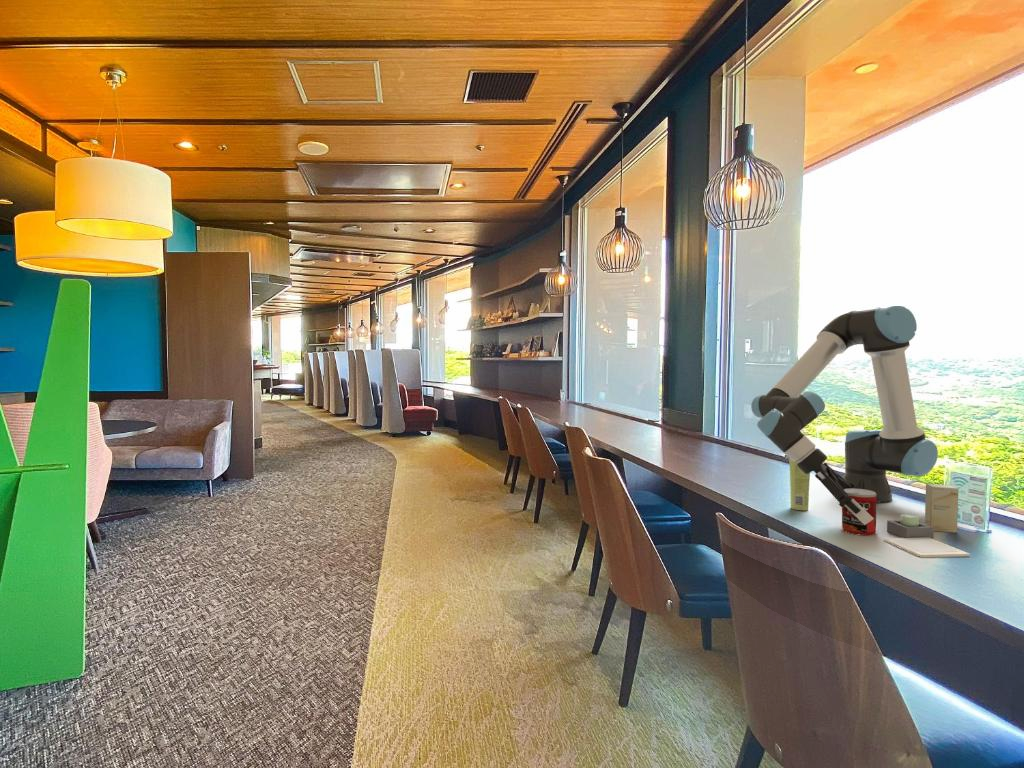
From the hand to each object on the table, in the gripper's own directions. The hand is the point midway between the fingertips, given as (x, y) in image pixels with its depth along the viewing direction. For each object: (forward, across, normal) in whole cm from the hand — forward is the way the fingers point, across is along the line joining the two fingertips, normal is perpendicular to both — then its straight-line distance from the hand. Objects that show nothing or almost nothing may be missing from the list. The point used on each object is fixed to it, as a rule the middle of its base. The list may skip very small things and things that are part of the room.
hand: (869, 515), depth 144 cm
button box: (+10, -3, +3) cm, 10 cm away
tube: (-9, -17, -16) cm, 25 cm away
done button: (+8, -3, +4) cm, 10 cm away
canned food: (+2, 0, -5) cm, 5 cm away
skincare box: (+15, -13, +8) cm, 22 cm away
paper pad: (+11, +7, +5) cm, 14 cm away
